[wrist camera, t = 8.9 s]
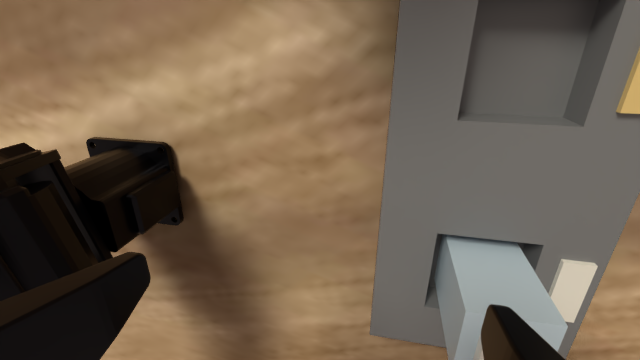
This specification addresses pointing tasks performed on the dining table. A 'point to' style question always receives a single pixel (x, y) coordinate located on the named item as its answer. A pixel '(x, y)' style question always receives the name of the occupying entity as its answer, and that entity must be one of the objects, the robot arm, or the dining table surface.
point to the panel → (507, 148)
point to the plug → (489, 292)
